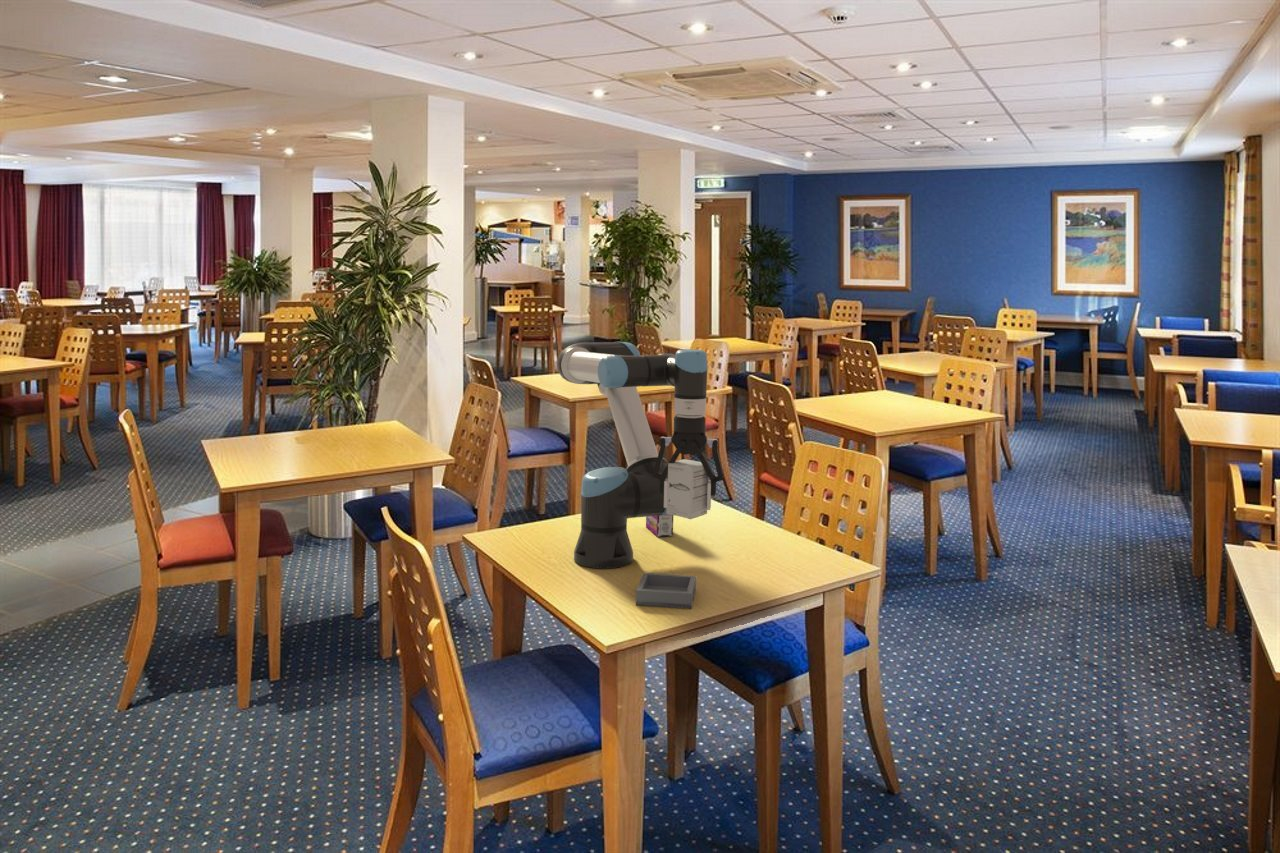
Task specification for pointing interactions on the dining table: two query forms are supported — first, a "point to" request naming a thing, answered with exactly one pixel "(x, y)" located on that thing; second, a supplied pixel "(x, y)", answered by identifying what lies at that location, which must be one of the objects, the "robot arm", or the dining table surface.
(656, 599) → the dock tray
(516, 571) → the dining table surface
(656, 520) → the candy bar box
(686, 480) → the supplement box
